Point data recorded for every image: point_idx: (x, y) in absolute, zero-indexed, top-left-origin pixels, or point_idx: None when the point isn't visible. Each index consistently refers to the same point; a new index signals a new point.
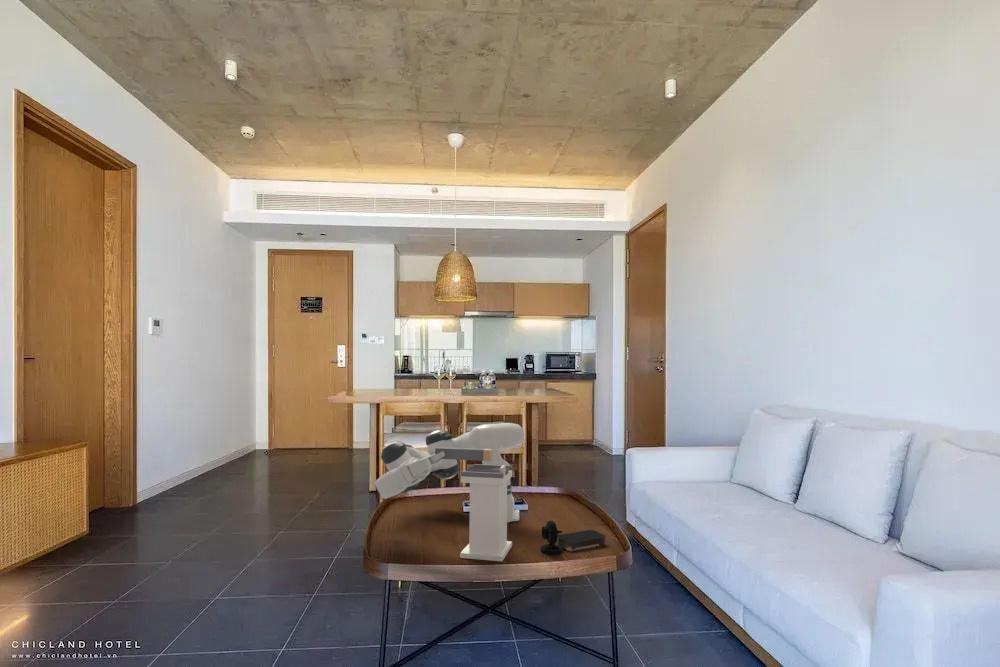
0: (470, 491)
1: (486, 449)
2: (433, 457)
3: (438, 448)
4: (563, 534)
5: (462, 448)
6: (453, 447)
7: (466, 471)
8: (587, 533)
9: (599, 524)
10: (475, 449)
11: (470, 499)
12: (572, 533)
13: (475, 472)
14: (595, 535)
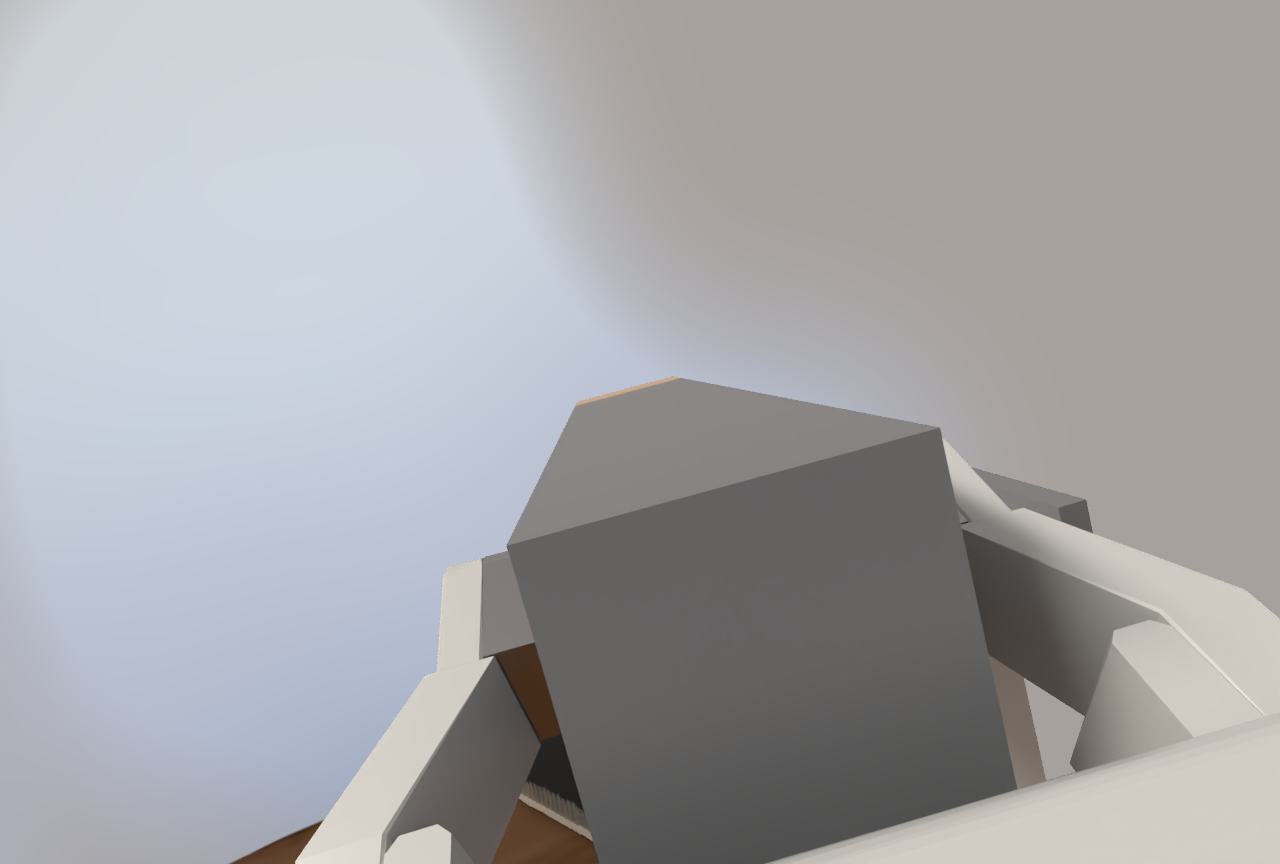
0: (1022, 689)
1: (632, 389)
2: (1251, 648)
3: (883, 417)
4: (580, 807)
5: (642, 409)
6: (567, 448)
7: (1027, 496)
8: (544, 759)
9: (298, 845)
10: (667, 387)
11: (1037, 762)
12: (558, 789)
13: (988, 474)
14: (557, 740)
